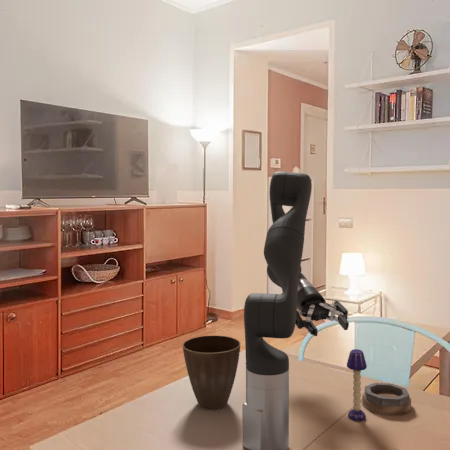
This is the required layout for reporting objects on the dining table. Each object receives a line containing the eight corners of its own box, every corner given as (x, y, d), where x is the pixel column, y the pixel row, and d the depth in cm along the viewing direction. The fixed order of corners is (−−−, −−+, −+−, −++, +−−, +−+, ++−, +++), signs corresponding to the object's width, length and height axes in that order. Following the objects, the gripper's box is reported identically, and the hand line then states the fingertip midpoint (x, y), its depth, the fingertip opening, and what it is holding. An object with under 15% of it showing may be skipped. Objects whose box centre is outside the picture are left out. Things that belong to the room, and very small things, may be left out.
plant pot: (206, 422, 122) (206, 356, 121) (172, 402, 134) (171, 342, 132) (252, 405, 132) (252, 344, 130) (216, 388, 143) (216, 332, 142)
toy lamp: (366, 423, 121) (367, 354, 120) (346, 421, 122) (347, 353, 121) (365, 414, 126) (366, 348, 125) (345, 412, 127) (346, 347, 126)
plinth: (392, 419, 123) (392, 404, 122) (352, 403, 132) (352, 389, 132) (420, 406, 130) (421, 392, 130) (381, 392, 139) (381, 378, 139)
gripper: (282, 290, 141) (306, 323, 127) (329, 281, 145) (358, 313, 130) (281, 312, 144) (305, 347, 130) (328, 303, 148) (355, 337, 134)
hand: (331, 330), depth 130 cm, fingers open, 8 cm apart
